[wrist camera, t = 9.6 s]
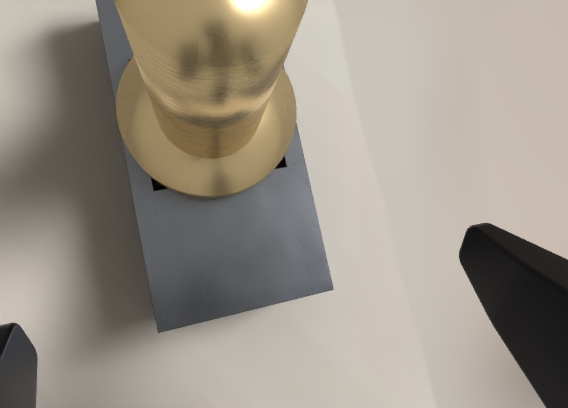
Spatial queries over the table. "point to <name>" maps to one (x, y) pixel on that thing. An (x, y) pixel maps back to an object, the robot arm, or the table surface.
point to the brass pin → (208, 91)
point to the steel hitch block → (221, 230)
